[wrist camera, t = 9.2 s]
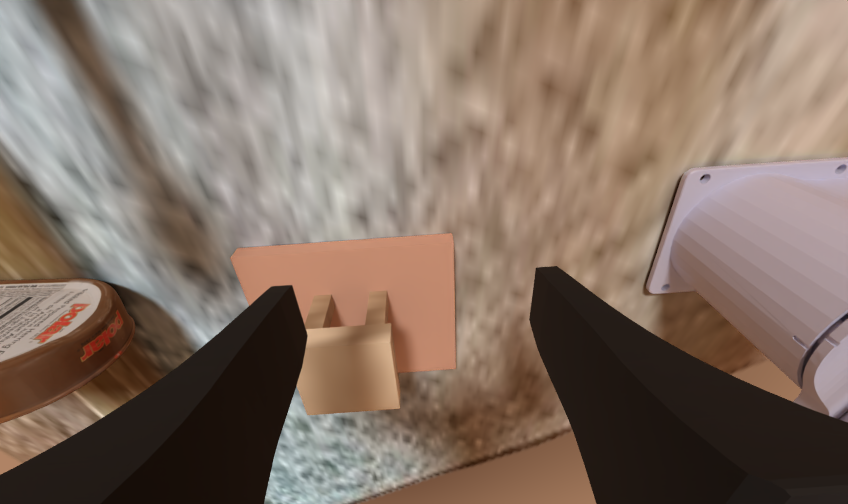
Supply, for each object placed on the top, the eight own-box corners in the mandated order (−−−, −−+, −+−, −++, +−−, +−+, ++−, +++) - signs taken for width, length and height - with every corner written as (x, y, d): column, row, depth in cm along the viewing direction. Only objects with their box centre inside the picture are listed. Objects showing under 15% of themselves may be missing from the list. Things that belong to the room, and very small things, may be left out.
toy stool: (393, 284, 21) (390, 342, 17) (400, 346, 24) (399, 408, 20) (305, 290, 21) (283, 349, 17) (323, 352, 24) (307, 415, 20)
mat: (451, 233, 21) (453, 242, 20) (454, 357, 26) (455, 368, 25) (237, 248, 21) (230, 257, 20) (283, 369, 26) (279, 381, 25)
